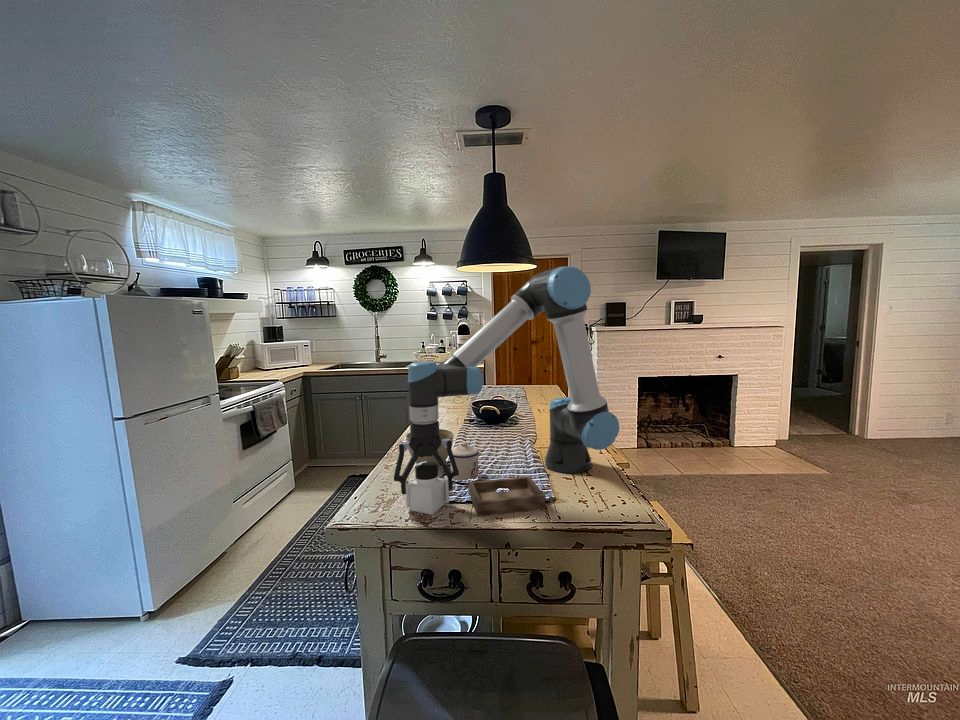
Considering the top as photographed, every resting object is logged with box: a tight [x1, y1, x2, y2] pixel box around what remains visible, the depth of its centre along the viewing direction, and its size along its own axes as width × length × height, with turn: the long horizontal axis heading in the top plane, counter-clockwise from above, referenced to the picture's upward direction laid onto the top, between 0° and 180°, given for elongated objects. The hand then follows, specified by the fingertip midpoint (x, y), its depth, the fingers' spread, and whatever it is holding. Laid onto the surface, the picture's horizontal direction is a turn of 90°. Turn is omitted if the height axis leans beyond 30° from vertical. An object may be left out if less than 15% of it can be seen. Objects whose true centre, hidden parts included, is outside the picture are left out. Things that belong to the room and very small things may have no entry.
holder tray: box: [468, 476, 546, 517], centre depth 115 cm, size 18×14×4 cm
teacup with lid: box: [450, 441, 479, 480], centre depth 132 cm, size 12×9×12 cm
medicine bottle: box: [408, 461, 446, 516], centre depth 111 cm, size 7×7×12 cm
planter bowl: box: [405, 428, 455, 469], centre depth 144 cm, size 16×16×11 cm
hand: (427, 503), depth 112 cm, fingers closed on medicine bottle, 10 cm apart
